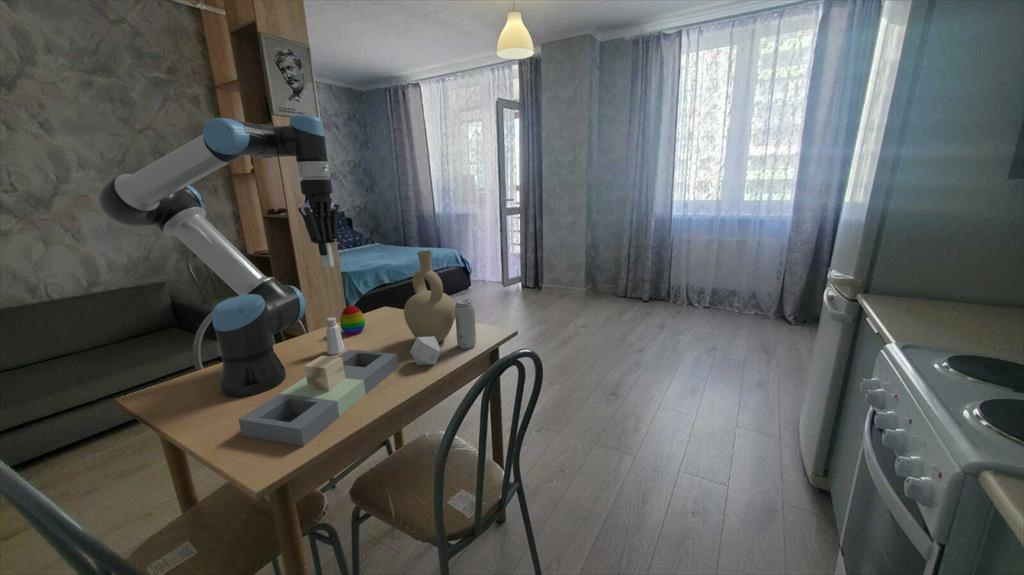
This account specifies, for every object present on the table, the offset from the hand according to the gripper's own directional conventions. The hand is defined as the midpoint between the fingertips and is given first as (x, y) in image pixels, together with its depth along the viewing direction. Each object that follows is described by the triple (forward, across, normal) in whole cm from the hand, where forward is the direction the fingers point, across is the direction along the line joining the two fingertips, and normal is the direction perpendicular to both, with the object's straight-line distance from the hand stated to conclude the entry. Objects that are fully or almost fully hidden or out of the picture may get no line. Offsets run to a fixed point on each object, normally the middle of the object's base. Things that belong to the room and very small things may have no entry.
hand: (328, 266), depth 114 cm
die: (+30, +5, -25) cm, 39 cm away
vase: (+30, +21, -19) cm, 41 cm away
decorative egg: (+30, +23, +13) cm, 40 cm away
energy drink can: (+30, +19, -32) cm, 48 cm away
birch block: (+25, -19, -10) cm, 33 cm away
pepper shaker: (+30, +7, +8) cm, 31 cm away
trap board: (+29, -17, -10) cm, 36 cm away
